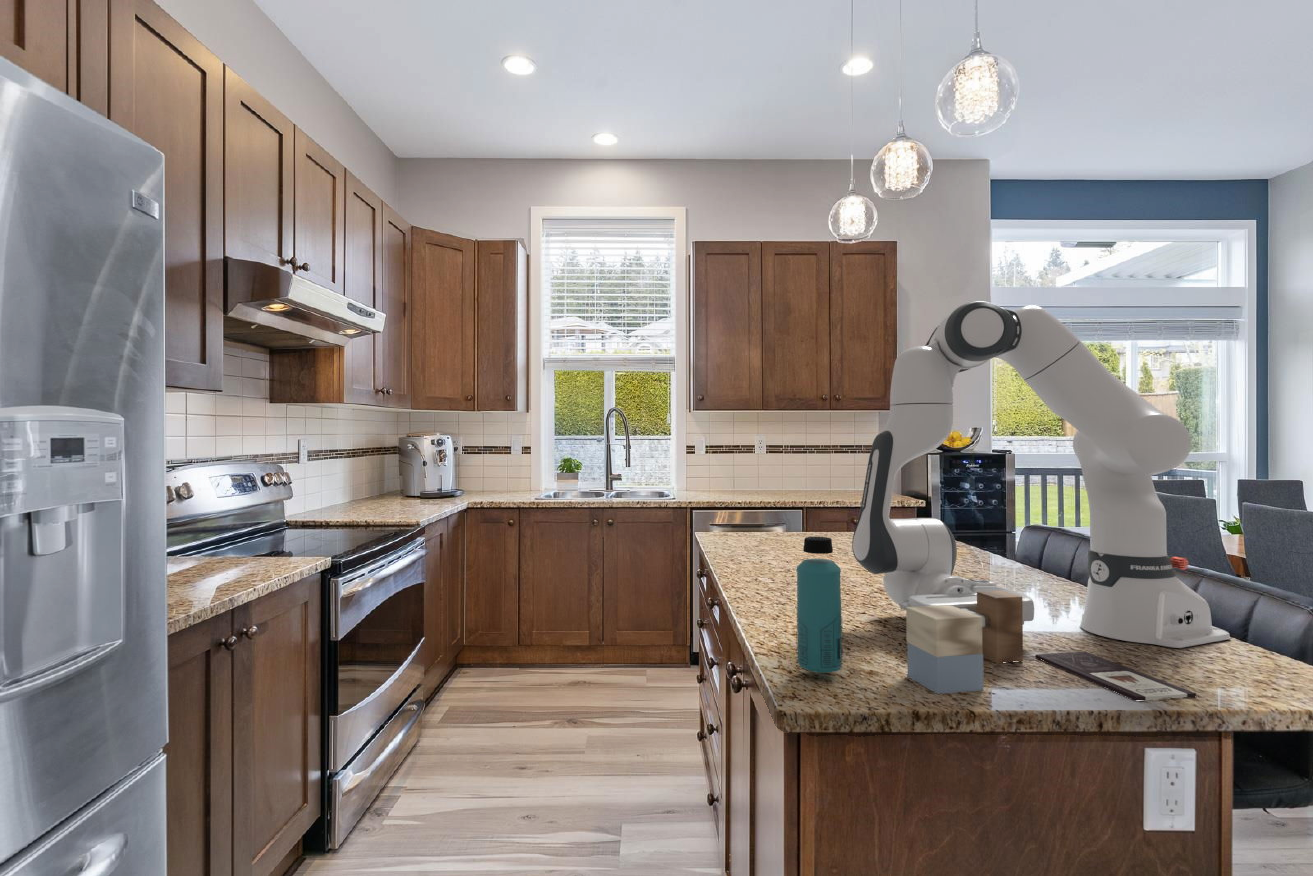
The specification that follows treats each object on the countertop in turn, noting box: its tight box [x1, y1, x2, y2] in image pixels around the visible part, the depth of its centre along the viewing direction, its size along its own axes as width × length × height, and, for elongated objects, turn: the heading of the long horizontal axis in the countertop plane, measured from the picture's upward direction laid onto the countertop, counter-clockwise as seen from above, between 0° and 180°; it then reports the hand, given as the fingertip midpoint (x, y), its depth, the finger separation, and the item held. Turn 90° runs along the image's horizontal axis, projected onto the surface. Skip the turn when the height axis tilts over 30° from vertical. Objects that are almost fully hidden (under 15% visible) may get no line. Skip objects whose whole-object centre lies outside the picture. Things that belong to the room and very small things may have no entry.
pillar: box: [977, 590, 1024, 665], centre depth 103 cm, size 4×4×10 cm
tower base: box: [906, 641, 984, 695], centre depth 93 cm, size 7×7×5 cm
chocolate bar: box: [1034, 651, 1197, 701], centre depth 95 cm, size 9×1×18 cm
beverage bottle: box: [795, 536, 844, 674], centre depth 96 cm, size 6×7×20 cm
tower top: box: [905, 605, 982, 657], centre depth 93 cm, size 7×7×5 cm
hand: (1003, 621), depth 102 cm, fingers closed on pillar, 4 cm apart
